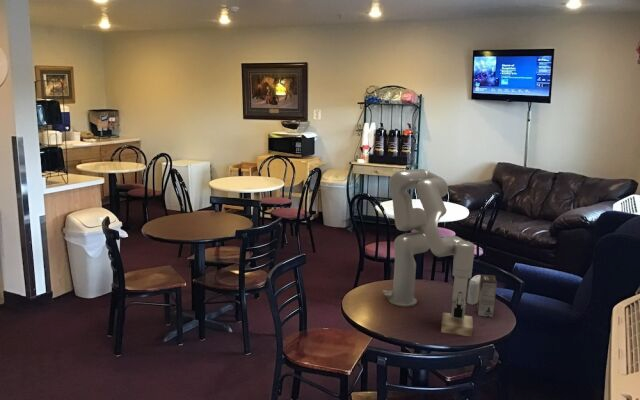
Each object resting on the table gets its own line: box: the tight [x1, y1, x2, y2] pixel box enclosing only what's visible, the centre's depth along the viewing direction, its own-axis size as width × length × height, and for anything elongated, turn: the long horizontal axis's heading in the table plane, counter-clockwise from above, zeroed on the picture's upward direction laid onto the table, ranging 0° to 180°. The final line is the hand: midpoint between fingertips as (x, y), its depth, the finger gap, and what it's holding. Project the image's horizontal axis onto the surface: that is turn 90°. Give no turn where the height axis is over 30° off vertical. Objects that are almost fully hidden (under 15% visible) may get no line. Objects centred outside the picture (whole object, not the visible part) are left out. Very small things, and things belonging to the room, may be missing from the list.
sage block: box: [451, 300, 467, 319], centre depth 225 cm, size 5×5×6 cm
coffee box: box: [476, 274, 498, 318], centre depth 243 cm, size 9×6×16 cm
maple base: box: [440, 312, 474, 337], centre depth 227 cm, size 12×12×4 cm
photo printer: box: [466, 274, 481, 306], centre depth 255 cm, size 10×4×12 cm, turn 140°
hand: (457, 314), depth 226 cm, fingers closed on sage block, 5 cm apart
